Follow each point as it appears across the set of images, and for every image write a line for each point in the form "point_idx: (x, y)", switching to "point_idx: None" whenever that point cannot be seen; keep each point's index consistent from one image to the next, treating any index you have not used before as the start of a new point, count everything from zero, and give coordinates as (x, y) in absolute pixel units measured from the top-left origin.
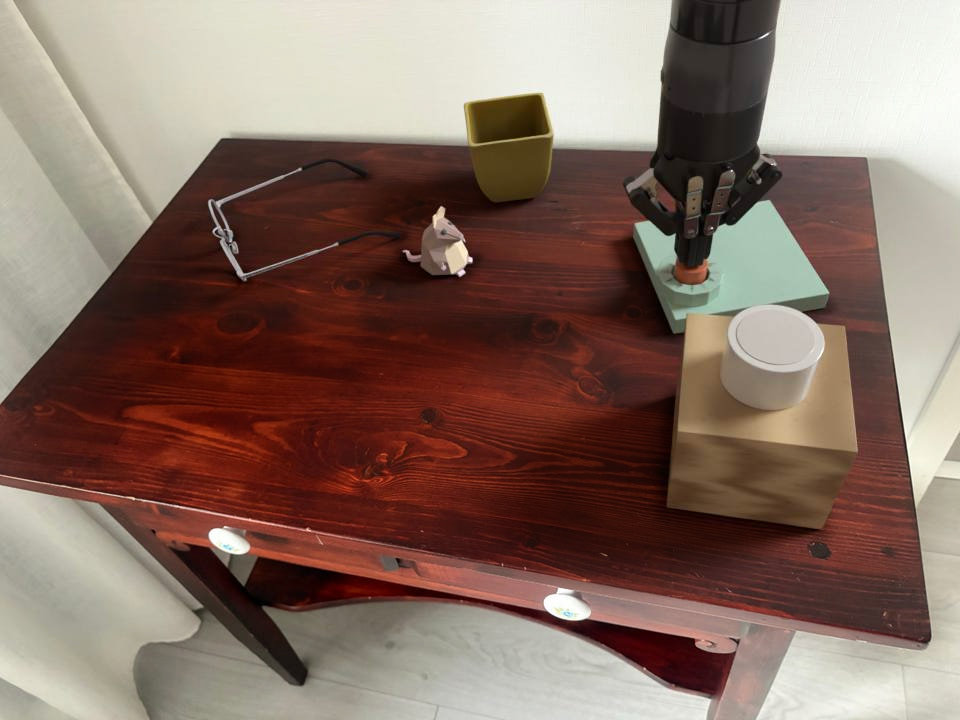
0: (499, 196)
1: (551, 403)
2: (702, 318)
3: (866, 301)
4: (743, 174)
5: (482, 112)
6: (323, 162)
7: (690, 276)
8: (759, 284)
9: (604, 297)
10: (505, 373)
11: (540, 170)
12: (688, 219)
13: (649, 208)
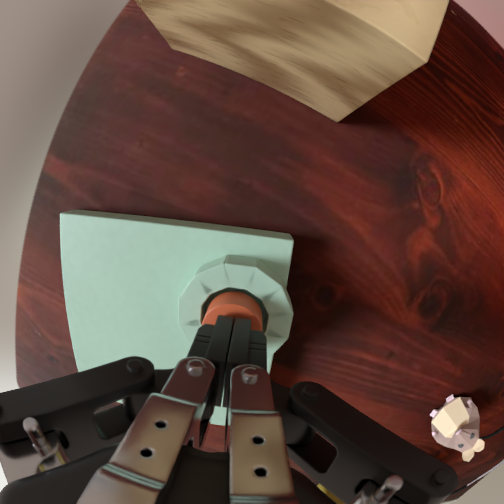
0: None
1: (470, 184)
2: (396, 26)
3: (39, 205)
4: (58, 475)
5: None
6: (453, 492)
7: (246, 303)
8: (132, 265)
9: (346, 335)
10: (488, 250)
11: (334, 500)
12: (261, 410)
13: (396, 457)
